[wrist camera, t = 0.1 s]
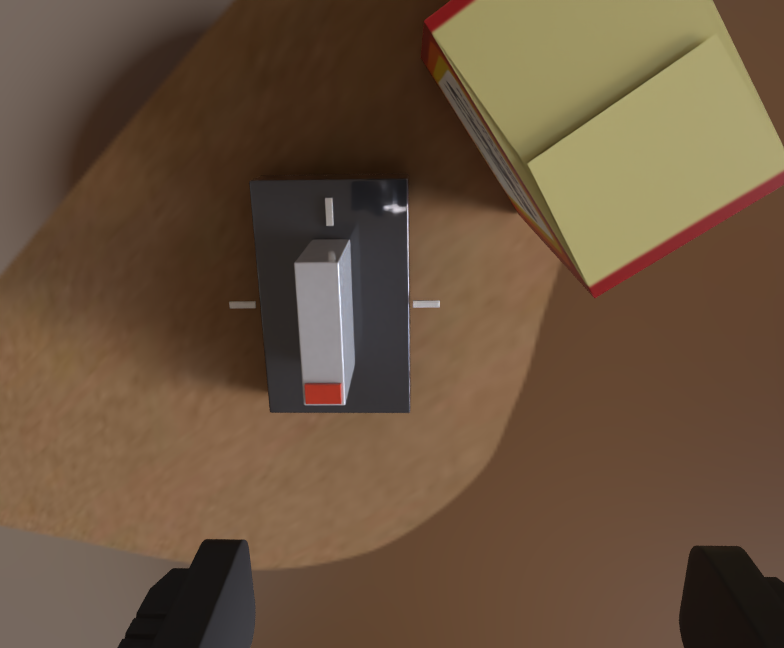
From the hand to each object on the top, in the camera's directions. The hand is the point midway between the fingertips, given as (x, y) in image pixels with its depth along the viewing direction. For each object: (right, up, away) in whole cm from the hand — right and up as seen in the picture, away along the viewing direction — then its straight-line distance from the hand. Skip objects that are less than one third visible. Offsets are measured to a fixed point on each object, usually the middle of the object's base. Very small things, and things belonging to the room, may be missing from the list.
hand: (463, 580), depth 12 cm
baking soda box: (+6, +16, +21) cm, 27 cm away
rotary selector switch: (-4, +7, +25) cm, 26 cm away
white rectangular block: (-4, +6, +22) cm, 23 cm away
